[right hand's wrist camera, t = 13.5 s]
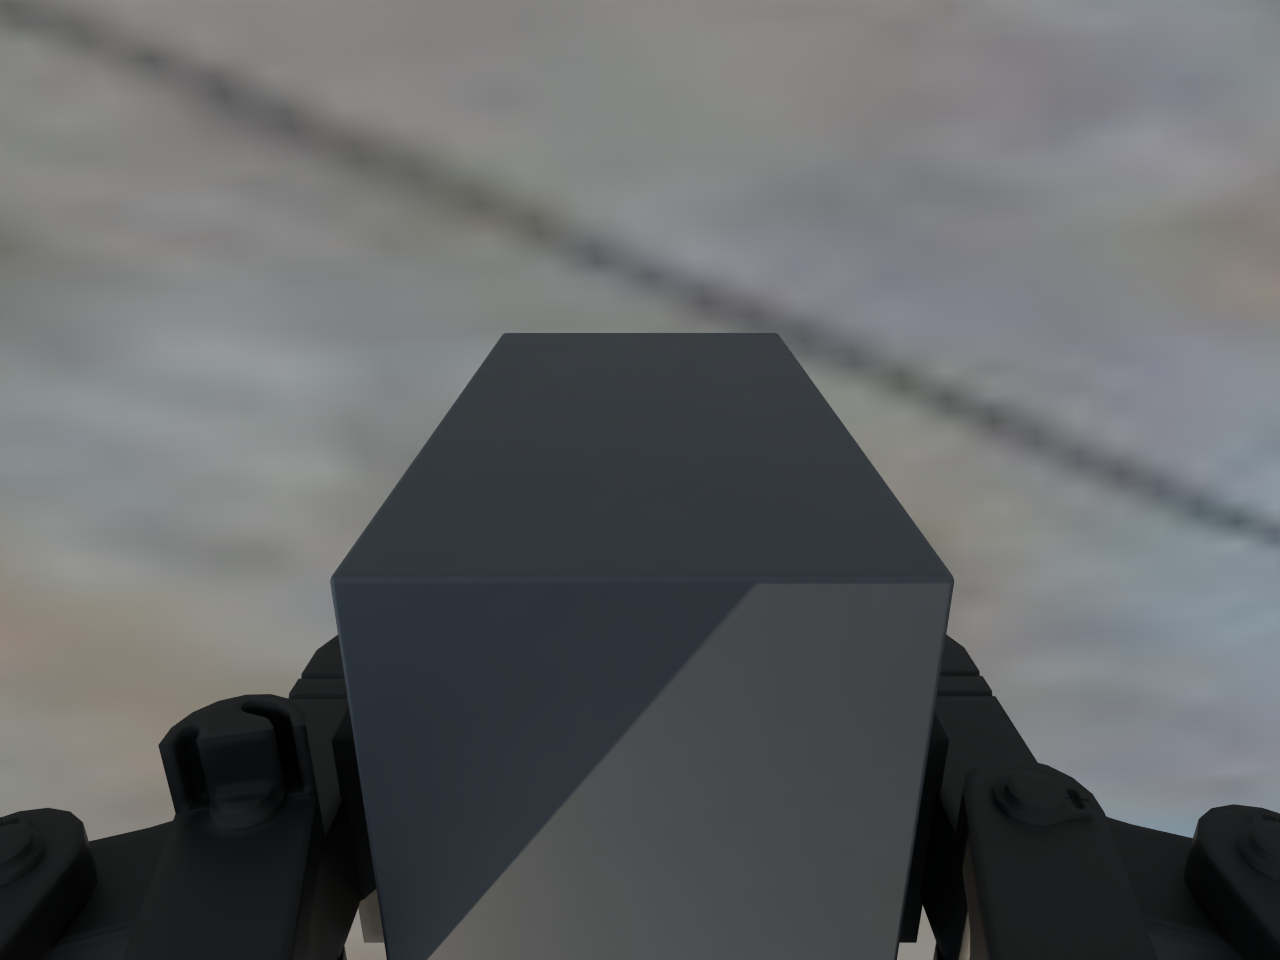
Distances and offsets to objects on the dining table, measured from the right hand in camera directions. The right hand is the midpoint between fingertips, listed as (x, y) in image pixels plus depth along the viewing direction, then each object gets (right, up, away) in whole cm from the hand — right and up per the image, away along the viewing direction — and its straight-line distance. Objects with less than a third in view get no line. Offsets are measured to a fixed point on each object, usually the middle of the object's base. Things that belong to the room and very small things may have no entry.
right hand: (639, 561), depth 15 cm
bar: (0, -8, +4) cm, 9 cm away
